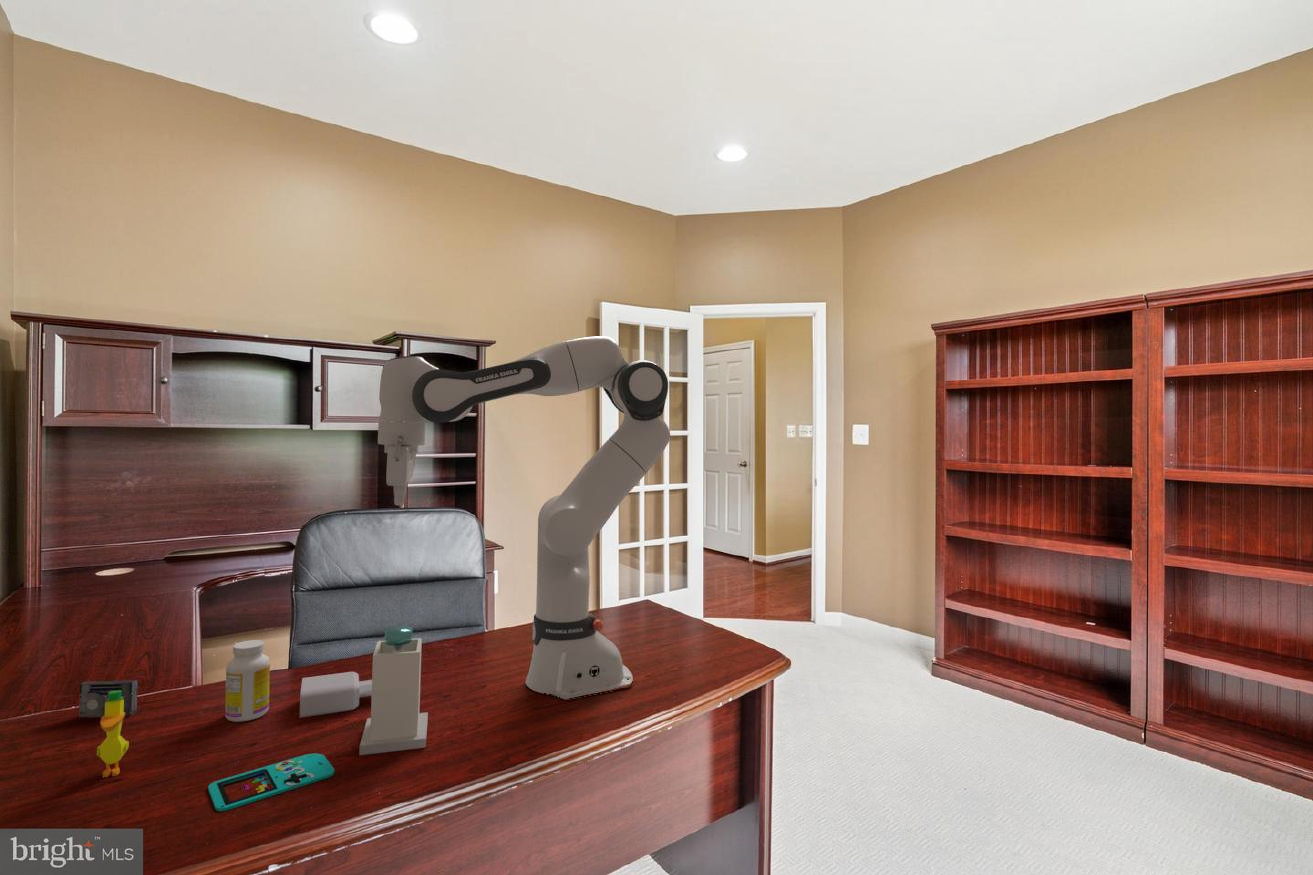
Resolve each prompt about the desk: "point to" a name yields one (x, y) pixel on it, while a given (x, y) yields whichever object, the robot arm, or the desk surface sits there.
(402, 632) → the plunger
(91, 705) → the mini dv tape
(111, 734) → the toy figure
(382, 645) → the press housing
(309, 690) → the charger
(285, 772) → the handheld gaming console
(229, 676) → the supplement bottle
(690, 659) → the desk surface
